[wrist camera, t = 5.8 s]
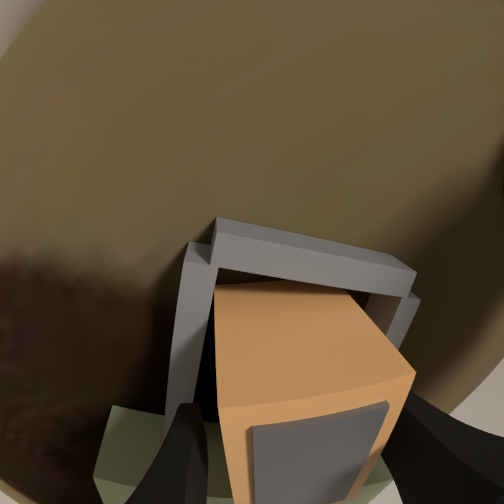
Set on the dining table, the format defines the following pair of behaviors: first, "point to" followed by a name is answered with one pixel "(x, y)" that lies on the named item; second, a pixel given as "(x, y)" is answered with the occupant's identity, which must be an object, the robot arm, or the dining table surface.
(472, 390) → the dining table surface
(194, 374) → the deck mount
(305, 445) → the orange box grey panel
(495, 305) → the dining table surface
